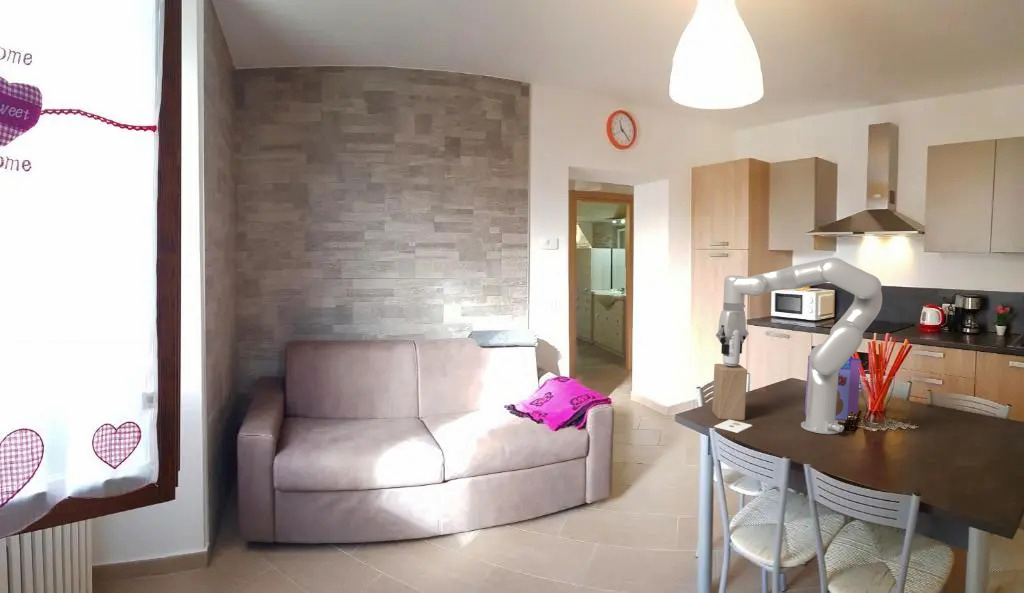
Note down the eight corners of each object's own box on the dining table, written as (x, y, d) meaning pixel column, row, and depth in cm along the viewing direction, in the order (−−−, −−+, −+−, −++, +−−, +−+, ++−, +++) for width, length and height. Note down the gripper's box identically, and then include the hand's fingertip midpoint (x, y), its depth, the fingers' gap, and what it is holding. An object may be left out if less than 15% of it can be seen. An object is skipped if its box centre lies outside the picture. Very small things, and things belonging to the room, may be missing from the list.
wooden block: (737, 413, 230) (739, 364, 228) (745, 420, 220) (747, 369, 218) (711, 412, 231) (714, 363, 229) (718, 419, 221) (720, 368, 219)
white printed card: (752, 425, 214) (752, 424, 214) (737, 432, 206) (737, 431, 206) (729, 420, 220) (729, 419, 220) (714, 426, 212) (714, 425, 212)
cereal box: (807, 417, 226) (811, 357, 223) (804, 413, 230) (808, 355, 228) (856, 421, 222) (861, 360, 219) (852, 417, 226) (856, 357, 224)
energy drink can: (742, 365, 221) (744, 327, 220) (730, 366, 219) (732, 328, 218) (731, 362, 227) (733, 325, 225) (719, 363, 225) (721, 325, 223)
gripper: (743, 305, 228) (741, 350, 229) (709, 307, 221) (707, 353, 222) (758, 307, 221) (755, 353, 222) (723, 309, 214) (721, 357, 216)
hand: (731, 353), depth 222 cm, fingers closed on energy drink can, 6 cm apart
